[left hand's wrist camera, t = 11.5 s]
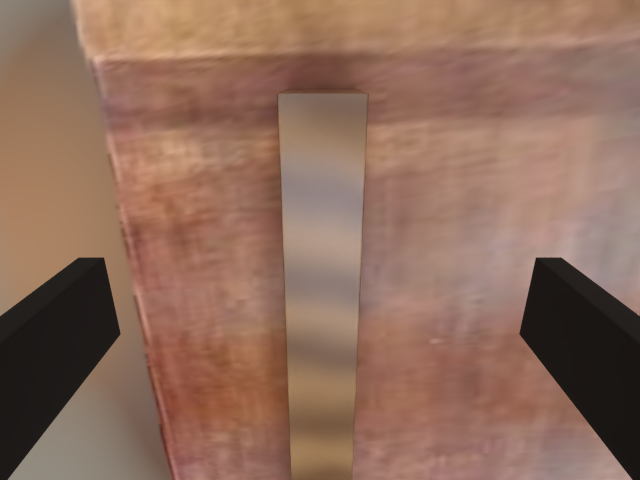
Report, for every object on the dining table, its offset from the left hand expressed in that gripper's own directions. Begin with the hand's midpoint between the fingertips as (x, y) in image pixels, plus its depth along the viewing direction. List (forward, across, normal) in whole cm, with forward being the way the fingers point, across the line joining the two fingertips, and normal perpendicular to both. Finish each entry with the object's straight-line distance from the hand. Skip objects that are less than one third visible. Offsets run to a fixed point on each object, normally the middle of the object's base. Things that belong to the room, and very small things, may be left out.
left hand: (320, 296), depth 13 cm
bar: (+20, 0, -30) cm, 36 cm away
